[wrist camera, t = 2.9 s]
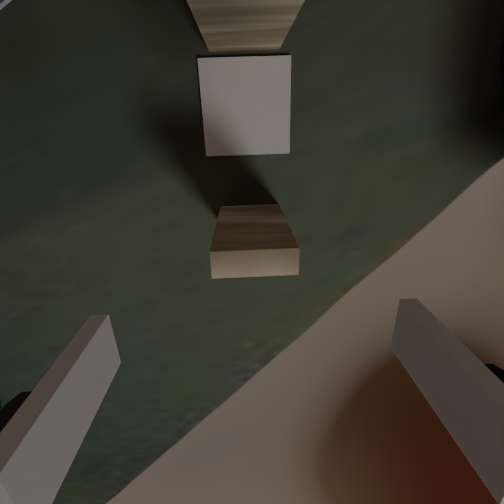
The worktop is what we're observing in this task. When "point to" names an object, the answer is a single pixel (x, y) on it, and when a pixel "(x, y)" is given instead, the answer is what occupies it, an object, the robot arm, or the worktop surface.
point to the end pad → (246, 104)
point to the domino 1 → (244, 23)
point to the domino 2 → (253, 243)
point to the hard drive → (3, 3)
